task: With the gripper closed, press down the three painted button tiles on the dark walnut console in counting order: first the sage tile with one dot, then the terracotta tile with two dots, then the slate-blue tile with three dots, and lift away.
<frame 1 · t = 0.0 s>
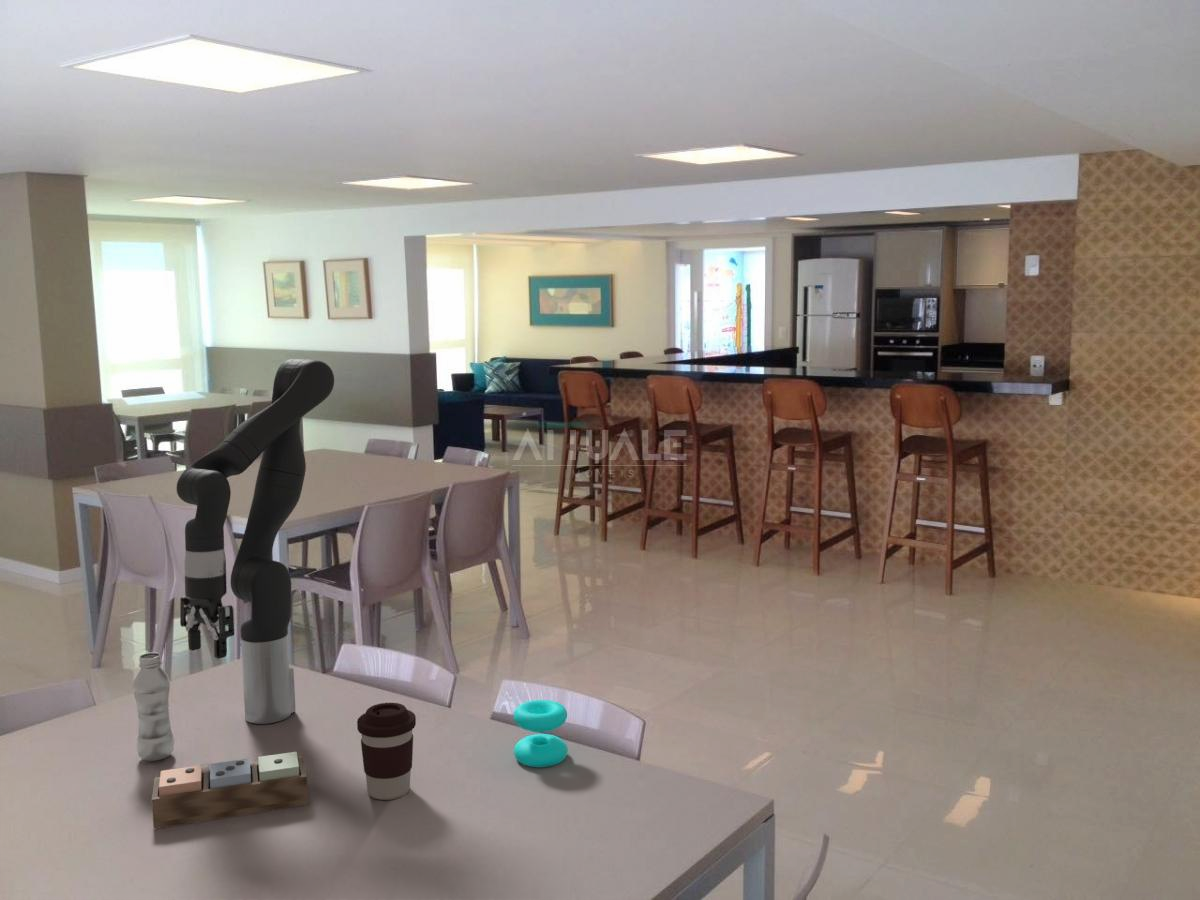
hand: (207, 653, 203), 17 cm above the table, tool pointing down, fingers open, 8 cm apart
coffee cup: (389, 792, 182), on the table
button three: (230, 776, 177), point 5 cm above the table, slide at 0.0 cm
button one: (278, 769, 179), point 5 cm above the table, slide at 0.0 cm
button two: (181, 783, 174), point 5 cm above the table, slide at 0.0 cm
plastic bottle: (156, 759, 196), on the table
donuts: (540, 759, 195), on the table
console: (232, 804, 177), on the table
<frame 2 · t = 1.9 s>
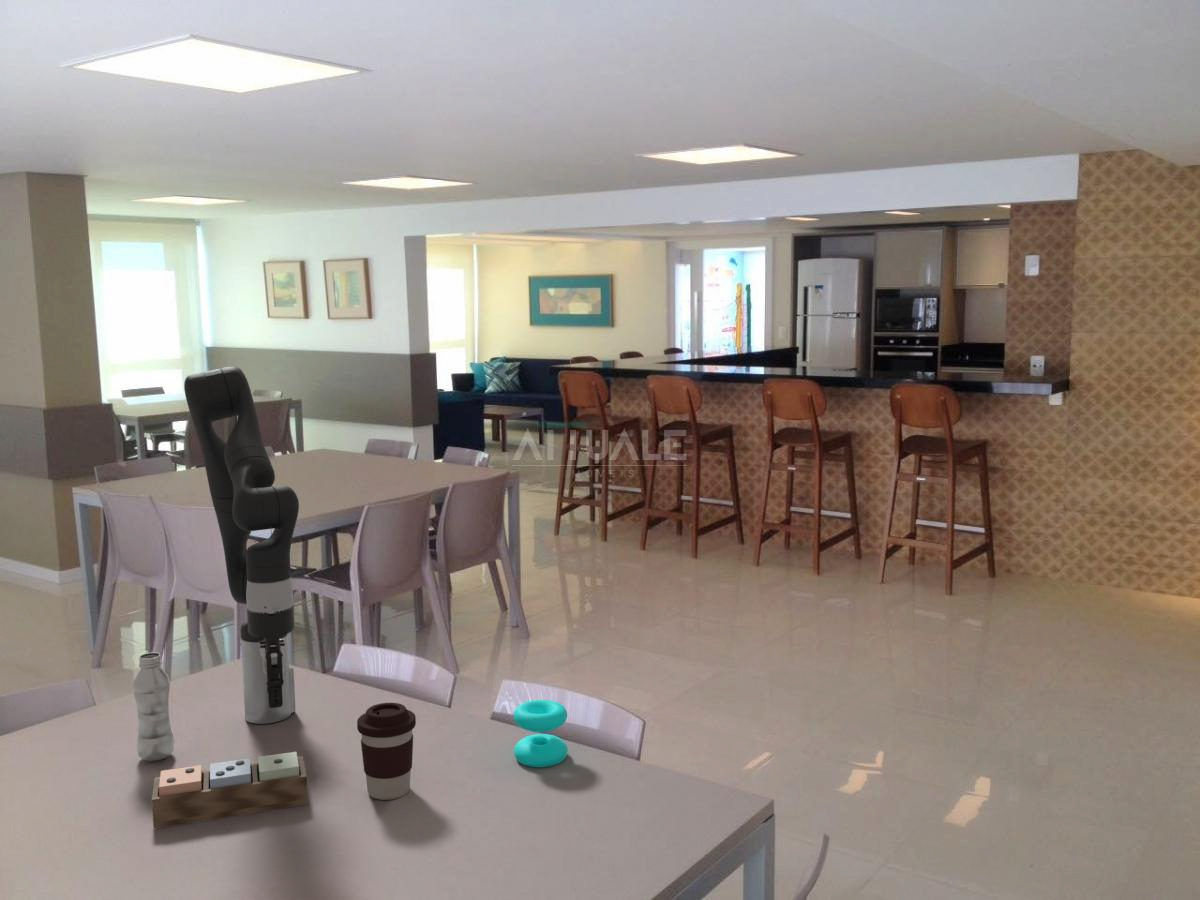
hand: (274, 699, 178), 18 cm above the table, tool pointing down, fingers open, 6 cm apart
nothing on the table moved.
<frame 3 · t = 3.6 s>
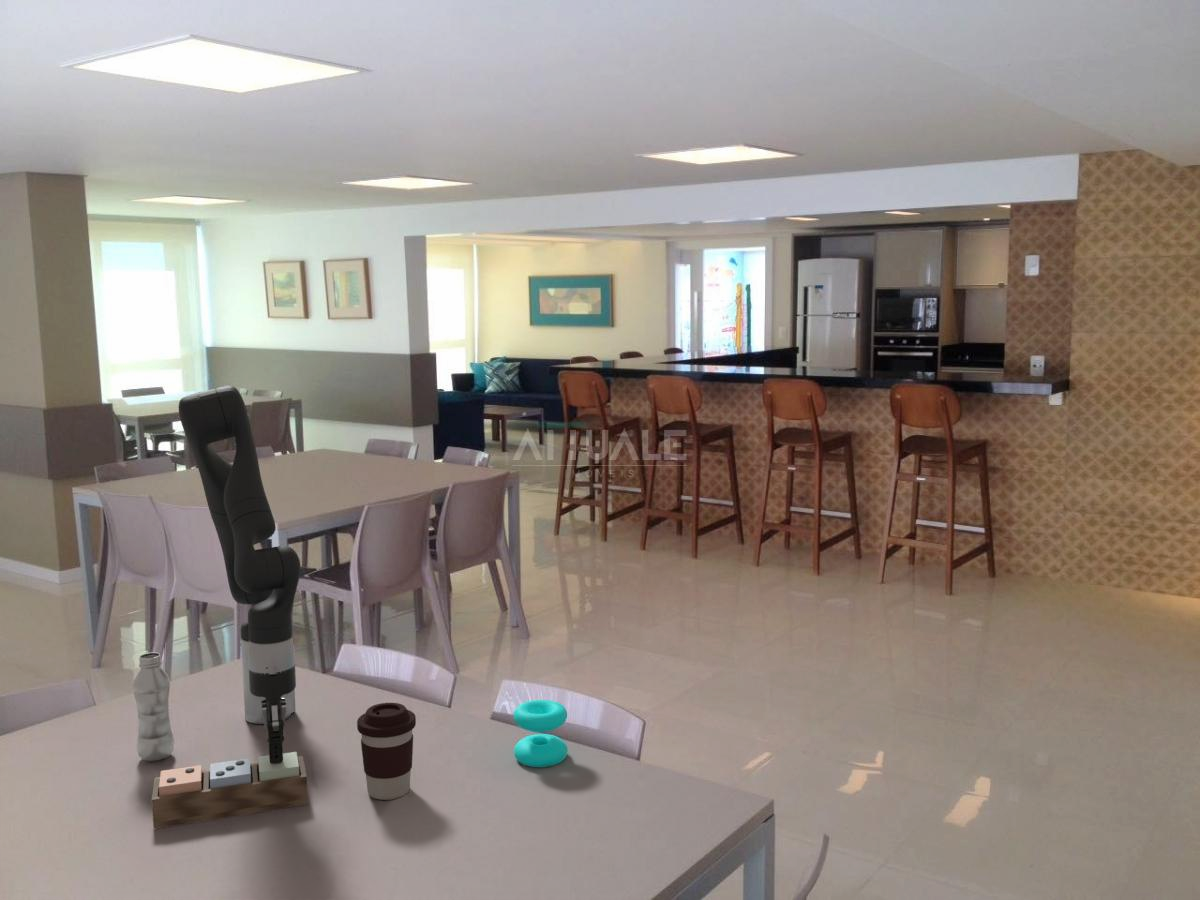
hand: (276, 761, 179), 7 cm above the table, tool pointing down, fingers closed
button one: (278, 769, 179), point 5 cm above the table, slide at 0.0 cm, touching gripper
everything else where it was.
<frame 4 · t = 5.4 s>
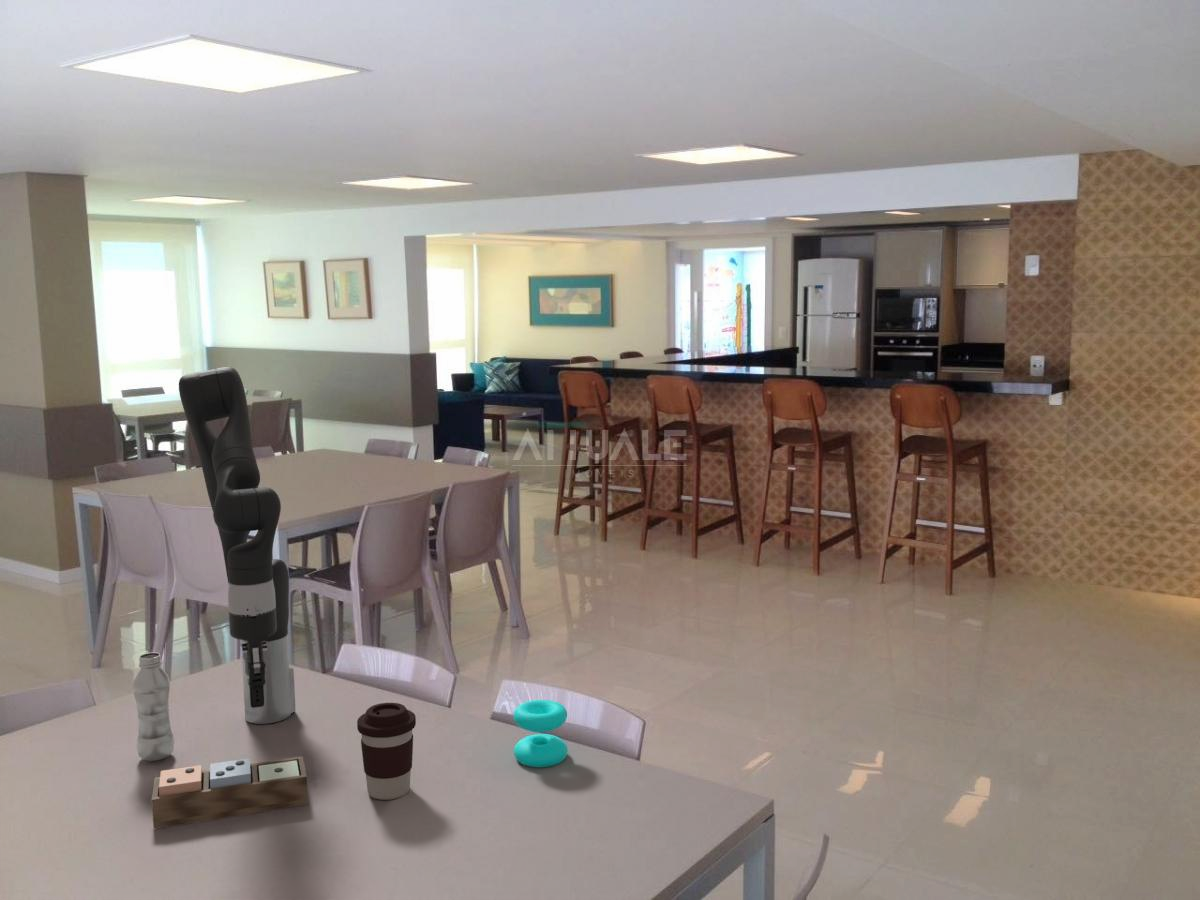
hand: (257, 705, 177), 17 cm above the table, tool pointing down, fingers closed
button one: (279, 778, 179), point 3 cm above the table, slide at 1.6 cm
everything else where it was.
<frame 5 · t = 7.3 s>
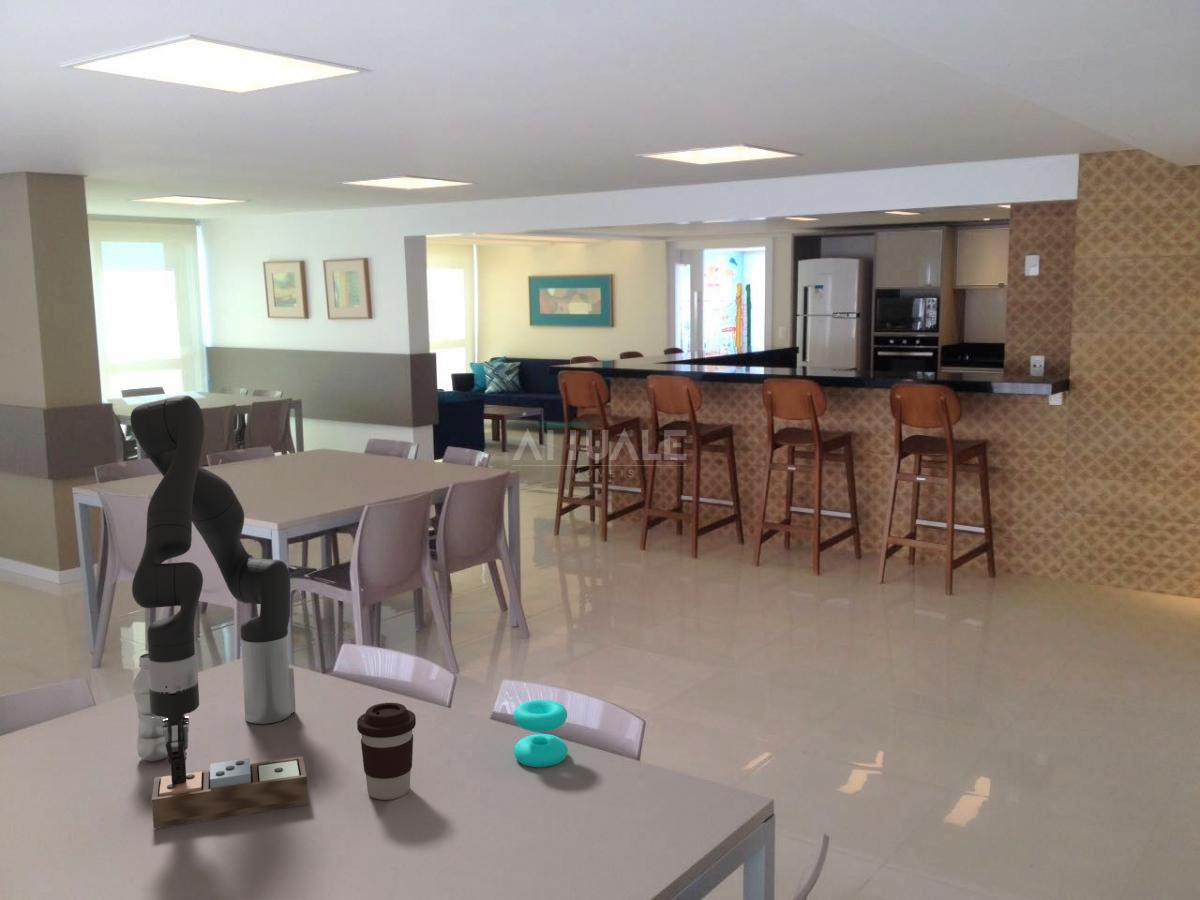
hand: (179, 782, 174), 5 cm above the table, tool pointing down, fingers closed
button two: (181, 790, 174), point 4 cm above the table, slide at 1.1 cm, touching gripper
everything else where it was.
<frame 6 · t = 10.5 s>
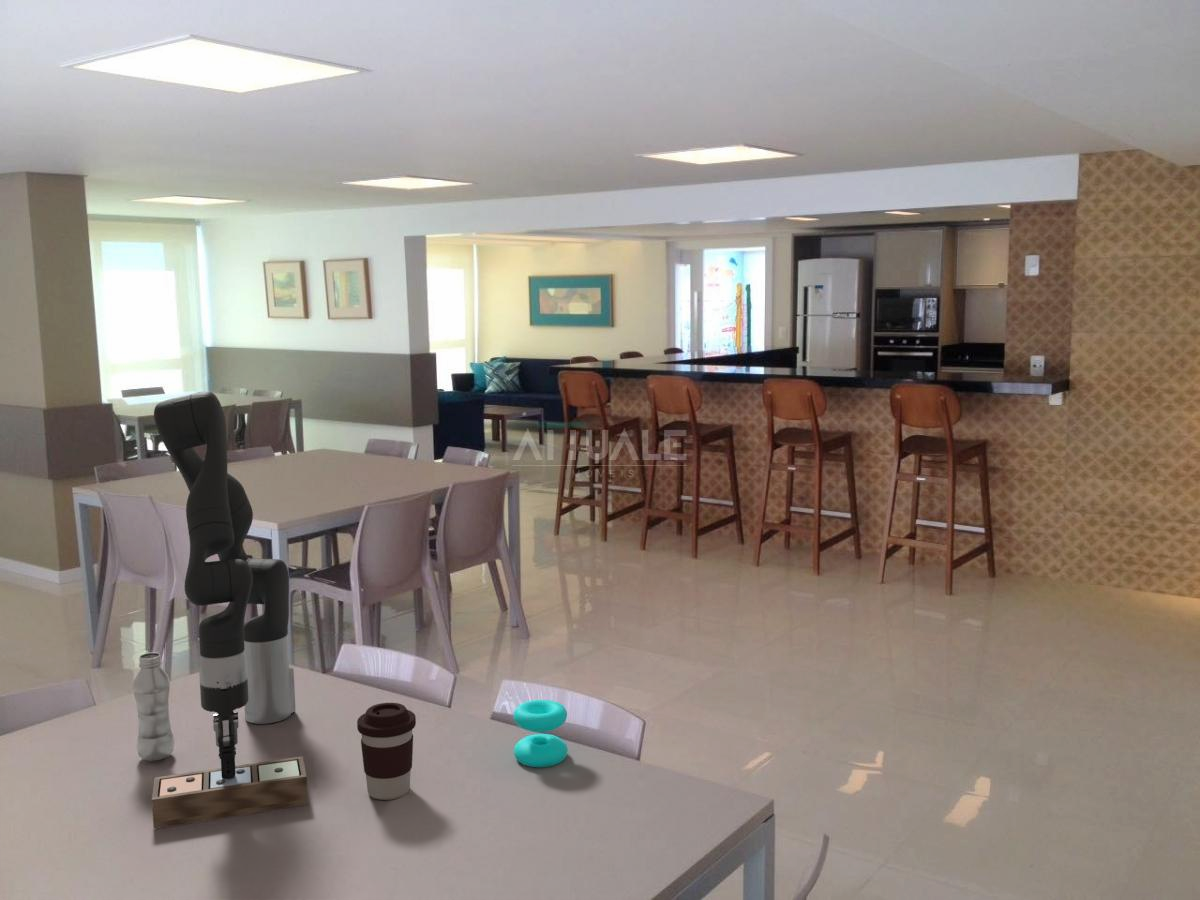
hand: (228, 776, 176), 5 cm above the table, tool pointing down, fingers closed
button three: (231, 784, 177), point 4 cm above the table, slide at 1.5 cm, touching gripper
button two: (181, 792, 174), point 4 cm above the table, slide at 1.6 cm
everything else where it was.
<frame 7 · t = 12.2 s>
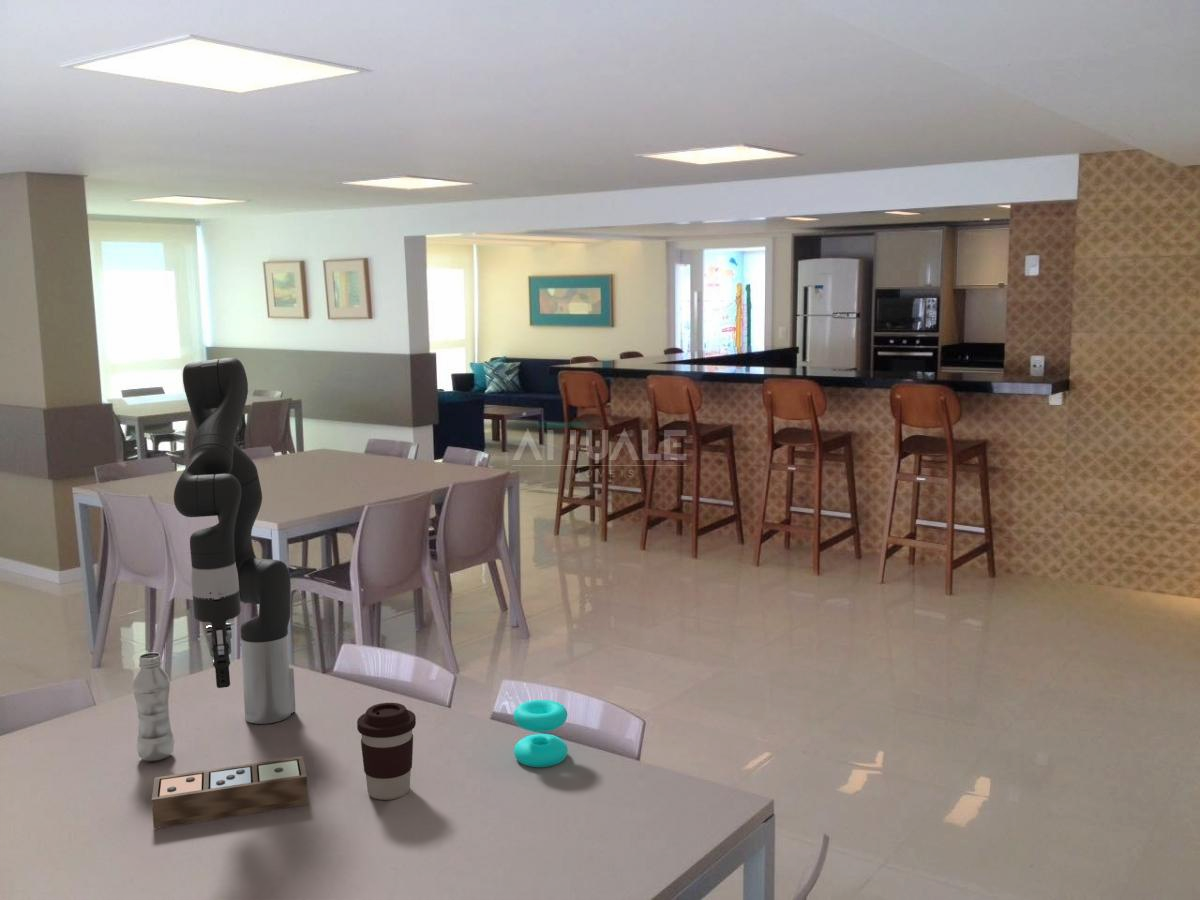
hand: (223, 685, 180), 19 cm above the table, tool pointing down, fingers closed
button three: (231, 785, 177), point 4 cm above the table, slide at 1.6 cm
everything else where it was.
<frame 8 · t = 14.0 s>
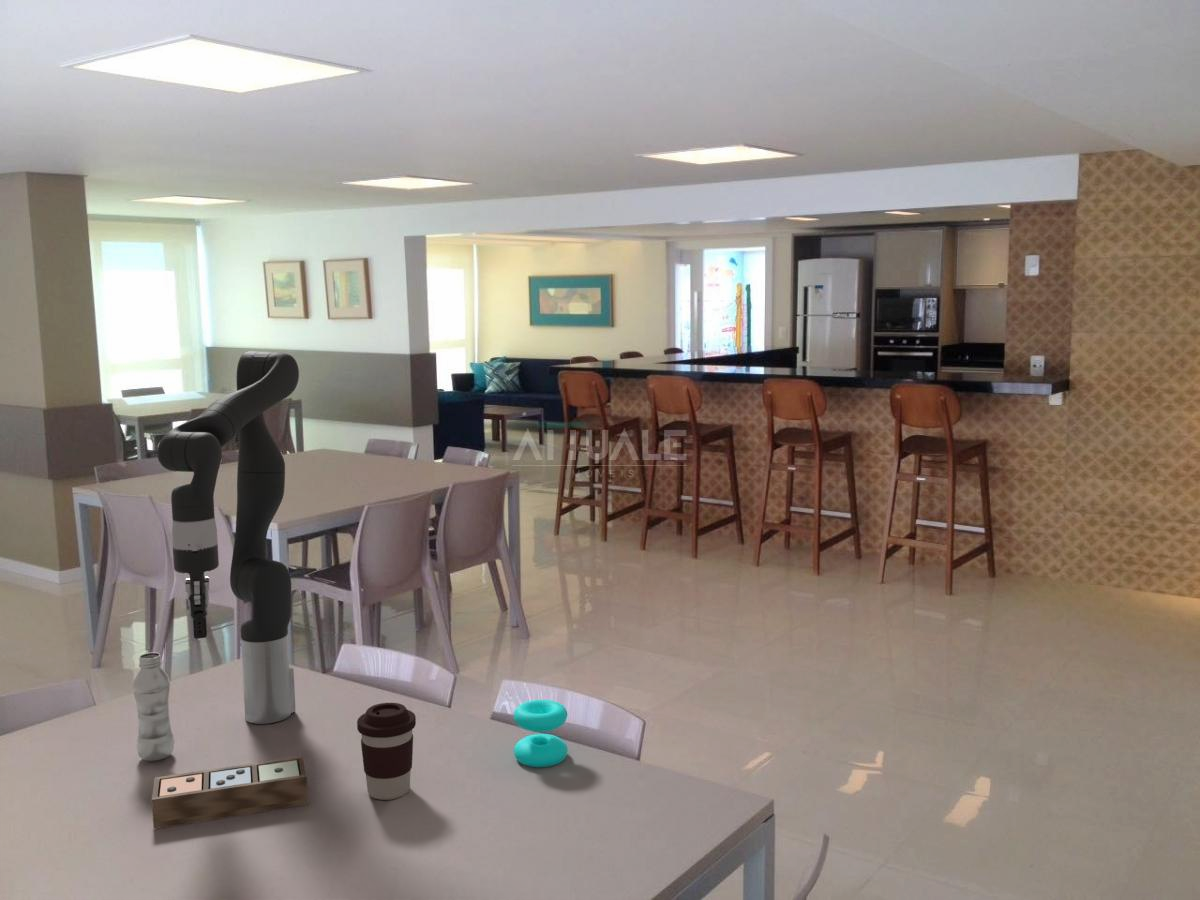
hand: (200, 637, 188), 25 cm above the table, tool pointing down, fingers closed
nothing on the table moved.
at the end: button one slide at 1.6 cm; button two slide at 1.6 cm; button three slide at 1.6 cm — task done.
